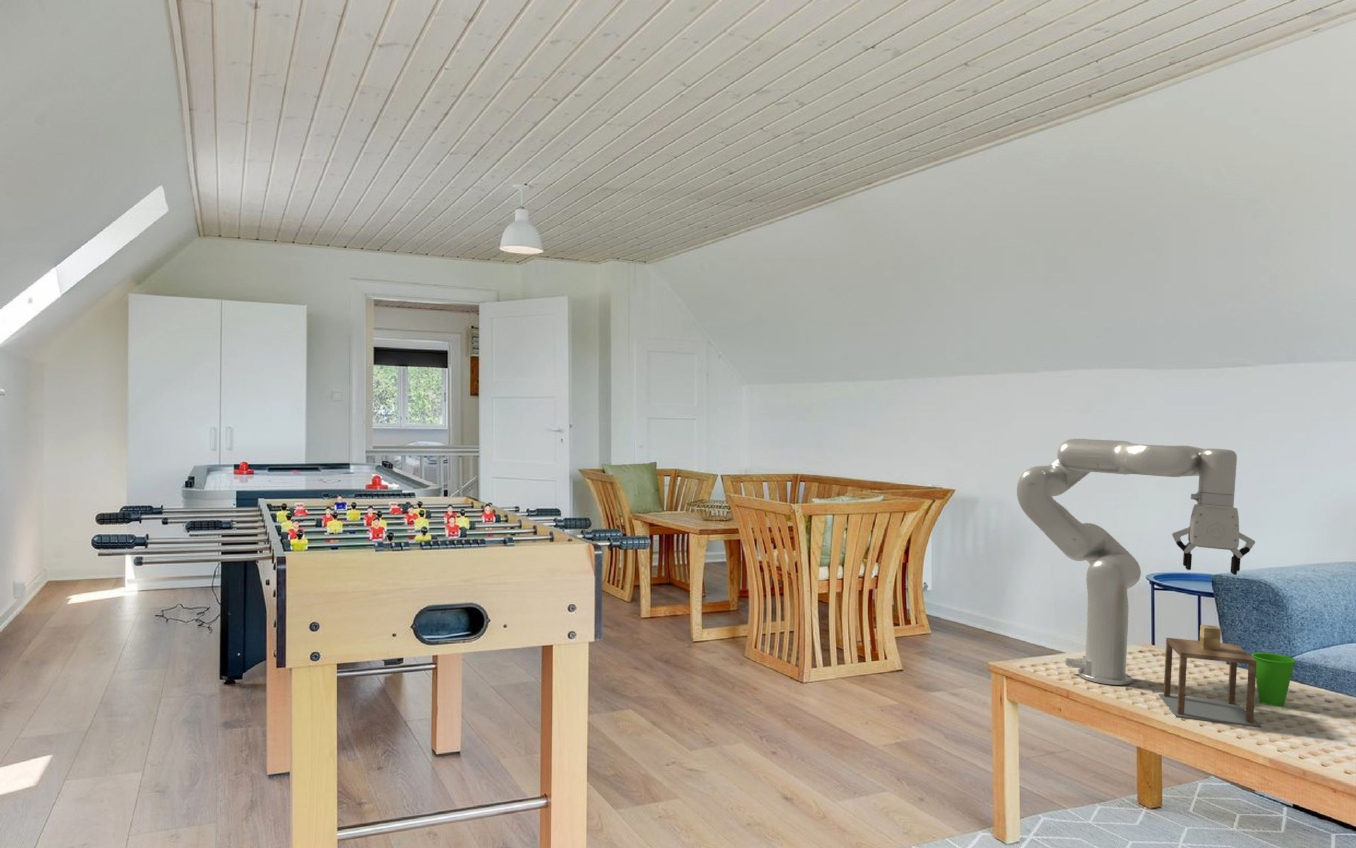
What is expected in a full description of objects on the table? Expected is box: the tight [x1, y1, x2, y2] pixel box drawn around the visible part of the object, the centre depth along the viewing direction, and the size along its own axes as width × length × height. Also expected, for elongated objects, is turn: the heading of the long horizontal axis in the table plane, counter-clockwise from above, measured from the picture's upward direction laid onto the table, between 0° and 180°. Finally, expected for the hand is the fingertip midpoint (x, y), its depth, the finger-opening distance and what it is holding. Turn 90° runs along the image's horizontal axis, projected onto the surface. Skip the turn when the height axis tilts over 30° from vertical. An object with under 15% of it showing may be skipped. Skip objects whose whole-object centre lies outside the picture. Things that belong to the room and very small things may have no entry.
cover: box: [1163, 624, 1257, 723], centre depth 214 cm, size 15×15×19 cm
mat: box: [1158, 693, 1262, 728], centre depth 214 cm, size 17×17×1 cm
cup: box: [1251, 651, 1297, 707], centre depth 222 cm, size 9×9×11 cm
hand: (1210, 571), depth 221 cm, fingers open, 9 cm apart
